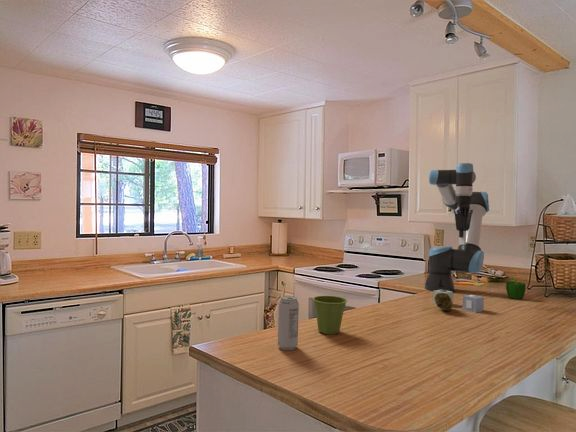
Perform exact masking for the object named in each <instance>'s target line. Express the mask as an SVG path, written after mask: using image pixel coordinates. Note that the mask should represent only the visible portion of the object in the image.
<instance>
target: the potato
mask: <svg viewBox="0 0 576 432" xmlns="http://www.w3.org/2000/svg"><path fill="white" fill-rule="evenodd" d="M434 300H435V303H436V304H435V305H436V306H437V307H438V308H439V309H440V310H442V311H445V312H446V311H447V312H448V311H451V310H452V308H453V305H452V301H451V298H450V297H449V295H448V294H445V293H438V294H436V295H435V298H434Z"/></svg>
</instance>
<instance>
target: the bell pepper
mask: <svg viewBox="0 0 576 432" xmlns="http://www.w3.org/2000/svg"><path fill="white" fill-rule="evenodd" d="M510 279H511V280H513V281H507V282H506V284H505V288H506V293H507V297H508V298H510V299H514V300H520V299H521V300H522V299H524V296H525V294H526V289H527V285H526V283H524V282H520V281H517V279H516V278H515V277H511V278H510Z"/></svg>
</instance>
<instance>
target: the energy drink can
mask: <svg viewBox="0 0 576 432" xmlns="http://www.w3.org/2000/svg"><path fill="white" fill-rule="evenodd" d="M299 306H300V304H299V301H298V298H297V297H295V296H290V295H286V296H281V297H280V300H279V302H278V310H277V311H278V313H277V315H278V316H277V346H278V347H279V349H280V350H282V351H283V350H284V351H293V350H296V349H297V346H298V345H299V343H298V341H299V339H298V338H299V312H300V311H299V308H300V307H299Z"/></svg>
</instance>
